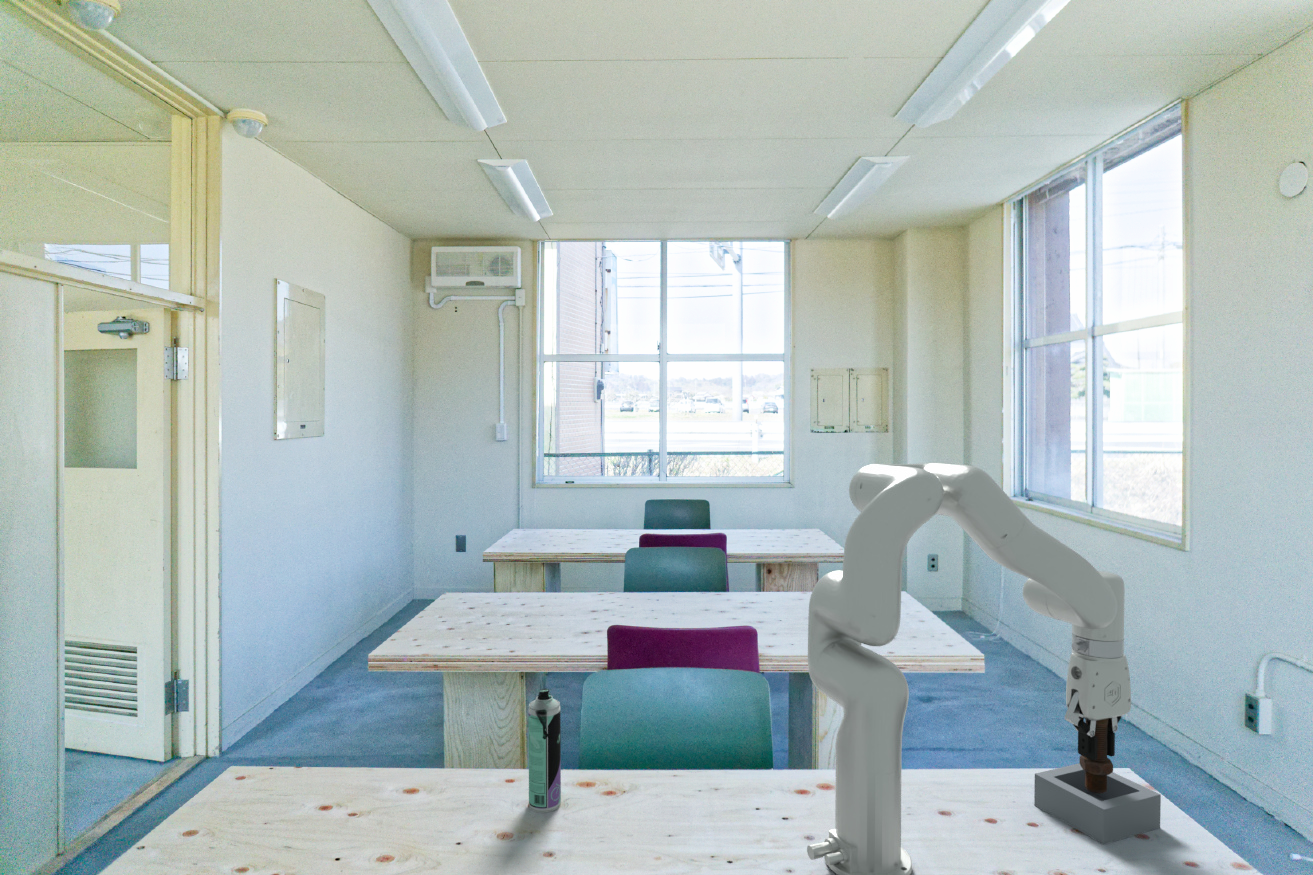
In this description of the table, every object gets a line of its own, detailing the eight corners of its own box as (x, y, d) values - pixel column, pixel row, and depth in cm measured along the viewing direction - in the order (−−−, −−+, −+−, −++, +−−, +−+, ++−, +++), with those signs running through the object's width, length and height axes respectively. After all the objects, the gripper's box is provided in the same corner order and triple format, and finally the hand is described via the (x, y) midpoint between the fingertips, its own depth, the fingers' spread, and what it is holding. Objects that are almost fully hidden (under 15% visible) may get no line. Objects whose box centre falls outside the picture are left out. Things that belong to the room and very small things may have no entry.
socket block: (1103, 844, 119) (1103, 809, 118) (1034, 805, 131) (1034, 773, 131) (1160, 827, 123) (1160, 794, 123) (1088, 791, 135) (1088, 761, 135)
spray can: (564, 809, 129) (563, 693, 129) (532, 815, 127) (532, 697, 127) (556, 794, 135) (556, 682, 134) (525, 800, 133) (525, 686, 132)
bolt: (1119, 800, 124) (1120, 709, 123) (1085, 797, 125) (1086, 707, 124) (1105, 783, 129) (1106, 696, 129) (1073, 781, 130) (1074, 694, 130)
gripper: (1081, 658, 120) (1080, 773, 120) (1153, 646, 126) (1151, 756, 126) (1041, 645, 127) (1040, 754, 127) (1111, 635, 133) (1110, 738, 133)
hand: (1096, 754), depth 127 cm, fingers closed on bolt, 3 cm apart
